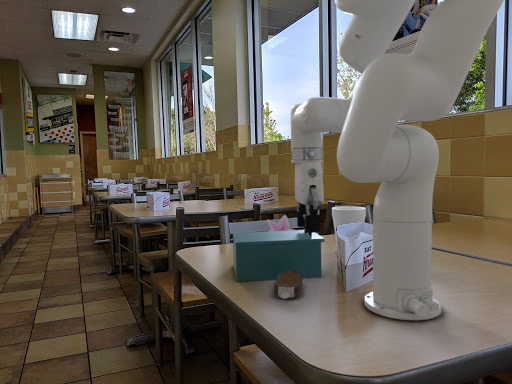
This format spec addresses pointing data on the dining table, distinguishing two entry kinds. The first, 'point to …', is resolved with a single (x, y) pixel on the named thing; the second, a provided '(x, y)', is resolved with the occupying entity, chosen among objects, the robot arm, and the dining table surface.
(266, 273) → the chest
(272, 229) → the lily
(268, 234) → the lid
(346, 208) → the foam cup
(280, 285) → the ice cream bar
